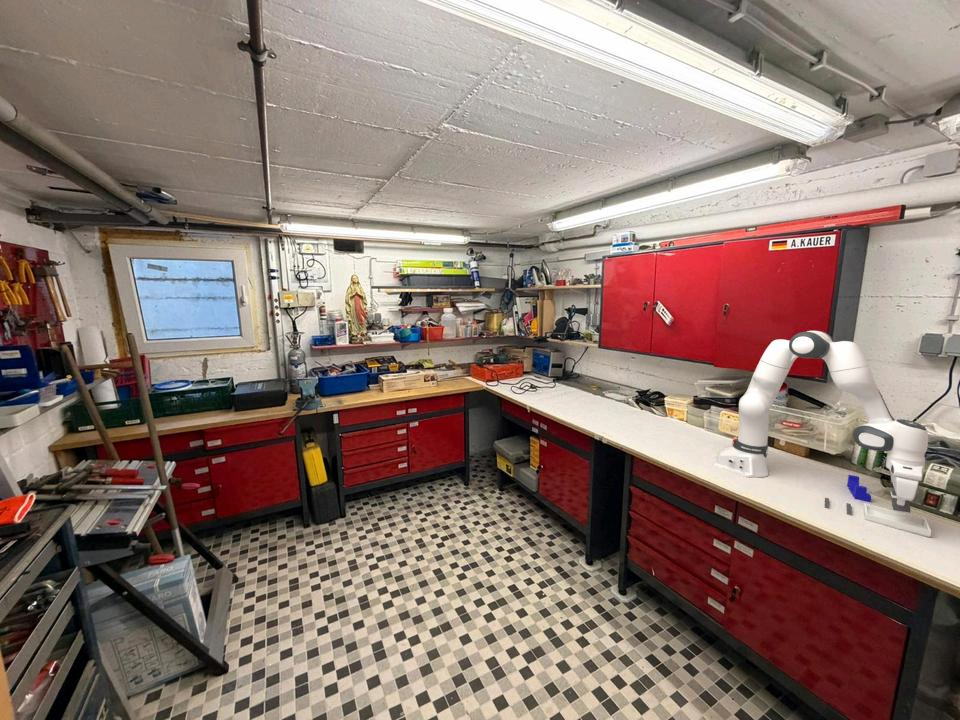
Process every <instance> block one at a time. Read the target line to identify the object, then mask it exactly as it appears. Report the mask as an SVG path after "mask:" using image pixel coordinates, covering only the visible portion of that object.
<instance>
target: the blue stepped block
mask: <svg viewBox="0 0 960 720" xmlns="http://www.w3.org/2000/svg"><path fill="white" fill-rule="evenodd" d="M846 487H847V488H848V490H849V492H850V494H851V495H852V497H853V498H854V500H858V501H862V502H866V503H871V501H872V495H871V494H870V493H868V492H867V490H868V488H867V486H864V485H860V477H859V475H852V474H848V477H847V483H846Z"/></svg>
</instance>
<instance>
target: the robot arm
mask: <svg viewBox="0 0 960 720" xmlns="http://www.w3.org/2000/svg"><path fill="white" fill-rule="evenodd" d="M797 358H802V359H822V360H823V361H824V362H825V363H826V365H827V368H828V369H827V370H829V374H830V377H831V379H832V381H833V383H834V385H835V386H836V387H837V389H839V390H841V391H843V392H846V393H850V394H851V395H853V396H854V397H856V398H857V399H858V400H859V402H860V404H861V406H862V408H863V411H864V412H865V415H866V416H867V419H868V421H867V423H864V424H861V425H859V426H857V427H855V428H854V429H853V431H852V433H851V435H852V439H853V441H854V442H855V443H856V445H858V447H861V448H863V449H865V450H870V451H878V452H886V461H885V468H887V469H888V470H889V472H890V480H891V483H892V486H893V488H894V489H895V492H896V495H897V501H896V502H897V504H898V505H902V506H904V505H905V501H906V500H908V501H910V502H913V501H914V499H915V497H916V494H917V491H918V487H919V482H920V481H922V480H923V475H924V471H925V465H926V458H925V456H926V452H927V451H928V448H929V447H928V445H929V433H928V429H927V427H925V426H924V425H923V424H921V423H918V422H915V421H912V420H908V419H901V418H900V419H895V418H894V417H893V415H892V414H891V412H890V410H889V407H888V406H887V403H886V402H885V400H884V397H883V395H882V394H881V392H880V389H879V388H878V386H877V385H878V384H877V383H876V381H875V379H874V376H873V373H872V371H871V368H870V366H869V362H868V360H867V359H866V357H865V354H864V353H863V352H862V350H861V348H860V347H859V345H858V344H857V343H855V342H853V341H848V340H841V341H834V338H833V337H832V336H831V335H830V334H829V333H827V332H824V331H822V330H821V331H820V330H807V331H803V332H797V333H796V334H795V335H793V336H792V337H791V338H790V340H787V339H781V338H780V339H775V340H773V341H771V342H770V344H769V345H768V346H767V347H766V349H765V350H764V352H763V354H762V356H761V357H760V360H759V362H758V364H757V365H756V368H755V370H754V372H753V374H752V376H751V380H750V382H749V384H748V387H747V390H746V392H745V393H744V394H743V396H741V397H740V398H739V401H738V423H739V424H738V425H739V426H738V434H737V436H738V437H737V436H734V437H733V438H732V443H731V444H732V445H731V446H728V447H724V448H722V449H721V450H719V452H718V454H717V456H715V457H713V458H712V459H711V462H710V463H711V465H712V466H713V467H716V468H720V469H722V470H724V471H728V472H729V473H732V474H735V475H739V476H742V477H744V478H764V477H765V478H766V477H768V476H769V469H768V463H767V457H768V455H769V444H768V439H769V429H770V427H769V426H770V425H769V422H770V421H769V417H770V414H769V413H770V410H771V407H772V406H773V404H774V402H775V399H776V397H777V396H778V394H779V392H780V390H781V387H782V386H783V383H784V381H785V379H787V376H788V374H789V372H790V370H791V367H792V366H793V363H794V362H795V360H797Z"/></svg>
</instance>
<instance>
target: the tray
mask: <svg viewBox="0 0 960 720" xmlns="http://www.w3.org/2000/svg"><path fill="white" fill-rule="evenodd" d="M862 508H863V517H864V520H865V521H868V522H871V523H874V524H878V525H882V526H885V527H889V528H892V529H896V530H899V531H902V532H903V531H904V532H906V533H907V532H908V533H910V534H914V535H918V536H922V537H926V538H929V539H931V535H932V530H931V526H930V524H929V522H928V520H927V518H926V517H923V516H918V515H914V514H911V513H907V512H902V511H895V510H893V509H891V508H886V507H882V506H878V505H874V504H870V503H867V502H866V503H865V502H863V506H862Z"/></svg>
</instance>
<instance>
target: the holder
mask: <svg viewBox="0 0 960 720" xmlns="http://www.w3.org/2000/svg"><path fill="white" fill-rule="evenodd" d="M824 508H825V509H827V510H829V509H830V498H829V497H824ZM845 510H846V515H847V516H852V512H853V511H852V505H851V503H848V502H847V503H846V505H845Z"/></svg>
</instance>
